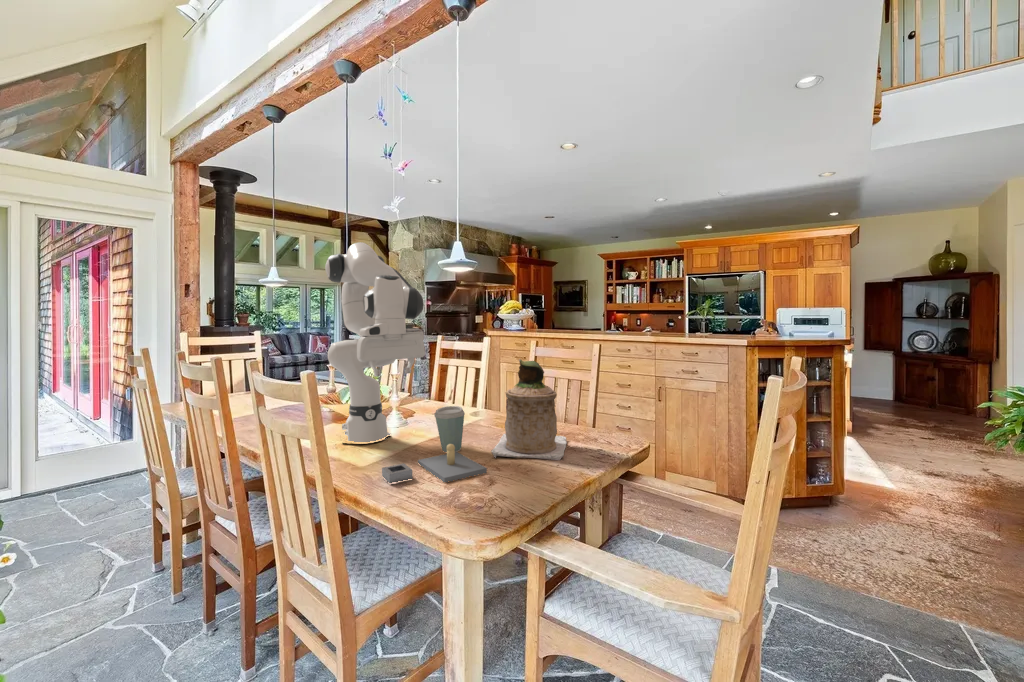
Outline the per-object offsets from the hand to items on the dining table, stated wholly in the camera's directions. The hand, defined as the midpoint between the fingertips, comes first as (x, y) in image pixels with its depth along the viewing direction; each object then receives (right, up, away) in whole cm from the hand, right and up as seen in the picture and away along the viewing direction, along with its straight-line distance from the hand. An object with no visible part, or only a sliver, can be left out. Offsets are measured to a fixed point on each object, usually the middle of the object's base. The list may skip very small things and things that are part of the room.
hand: (393, 374), depth 141 cm
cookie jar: (+43, -28, +24) cm, 56 cm away
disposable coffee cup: (+14, -29, +23) cm, 40 cm away
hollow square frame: (+2, -31, -4) cm, 31 cm away
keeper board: (+17, -30, +5) cm, 35 cm away
